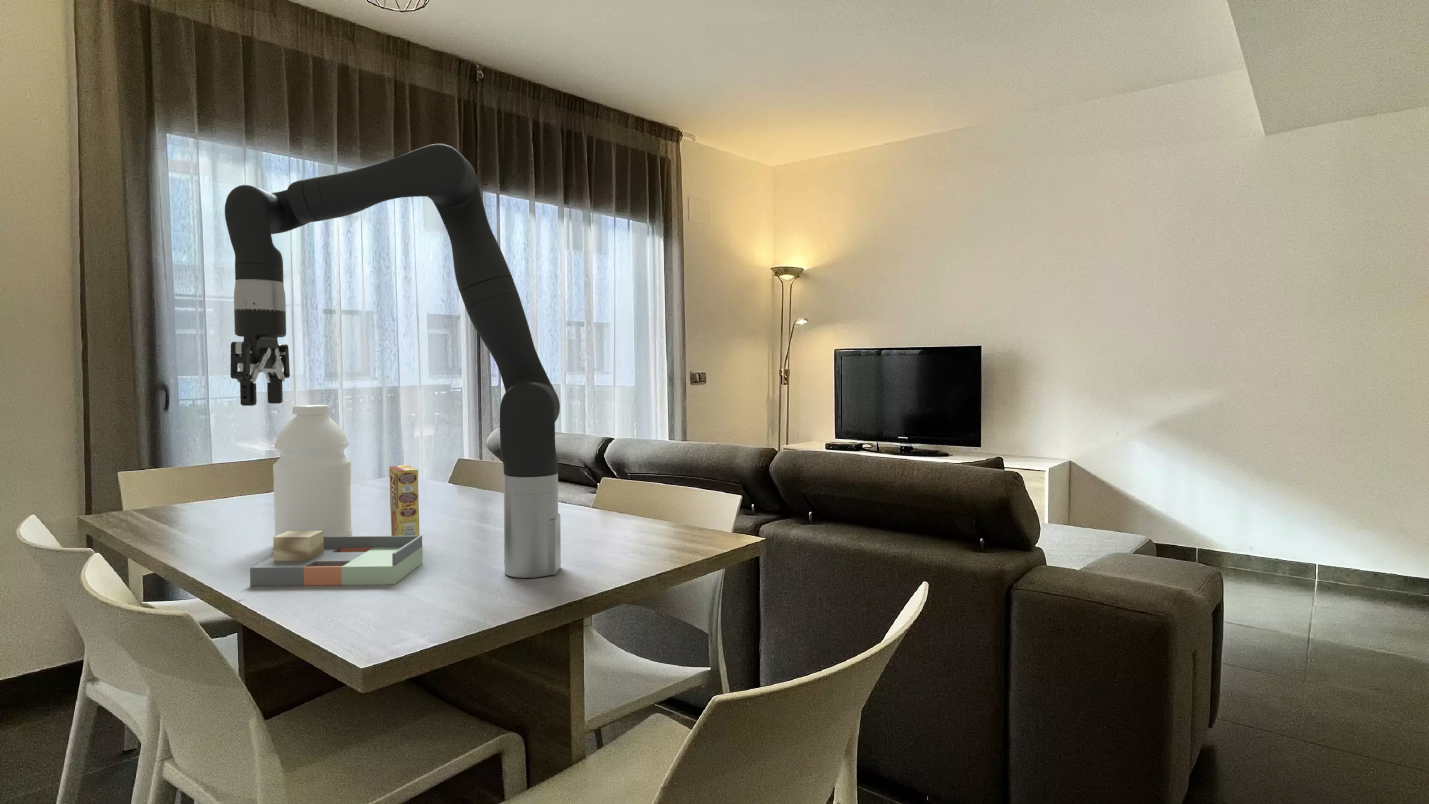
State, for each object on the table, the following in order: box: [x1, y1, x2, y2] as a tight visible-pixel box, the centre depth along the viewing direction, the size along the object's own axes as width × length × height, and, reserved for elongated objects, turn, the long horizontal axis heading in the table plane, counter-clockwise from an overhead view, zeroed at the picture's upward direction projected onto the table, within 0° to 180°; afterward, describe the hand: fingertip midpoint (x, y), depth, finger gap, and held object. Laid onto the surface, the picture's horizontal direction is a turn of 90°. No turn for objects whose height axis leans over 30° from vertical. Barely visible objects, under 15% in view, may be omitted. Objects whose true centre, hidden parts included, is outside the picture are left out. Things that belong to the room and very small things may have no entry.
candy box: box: [388, 464, 421, 536], centre depth 156 cm, size 9×4×15 cm, turn 33°
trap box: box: [249, 535, 423, 587], centre depth 132 cm, size 23×14×5 cm, turn 93°
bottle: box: [272, 404, 353, 537], centre depth 155 cm, size 14×14×28 cm
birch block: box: [272, 531, 324, 561], centre depth 131 cm, size 6×5×4 cm
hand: (262, 404), depth 130 cm, fingers open, 8 cm apart
